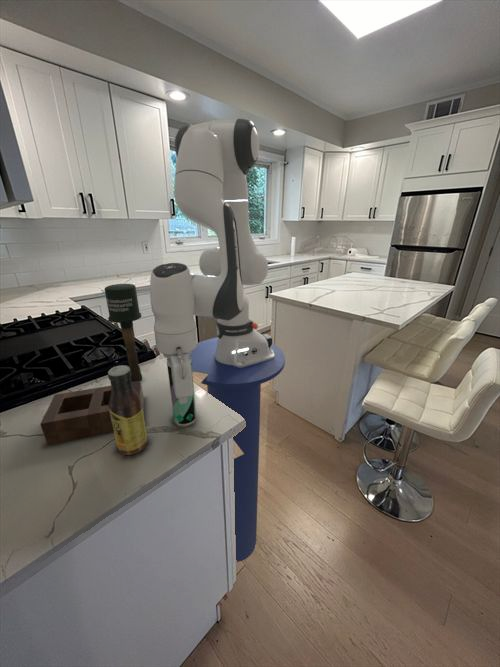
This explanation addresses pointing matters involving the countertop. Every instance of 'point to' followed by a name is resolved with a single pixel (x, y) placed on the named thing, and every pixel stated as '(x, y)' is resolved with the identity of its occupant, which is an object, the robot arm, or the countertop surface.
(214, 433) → the countertop surface
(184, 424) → the spray can
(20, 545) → the countertop surface
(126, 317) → the potato masher grenade
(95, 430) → the holder
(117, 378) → the sauce bottle
